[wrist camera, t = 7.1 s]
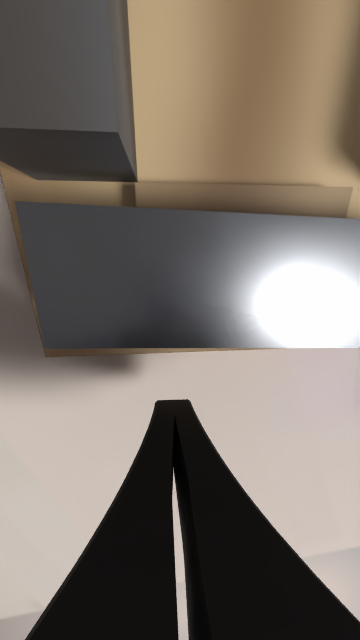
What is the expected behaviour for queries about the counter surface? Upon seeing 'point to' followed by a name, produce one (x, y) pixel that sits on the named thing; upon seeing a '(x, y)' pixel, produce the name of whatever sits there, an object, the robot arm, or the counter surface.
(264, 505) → the counter surface
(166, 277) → the hinged leg
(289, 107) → the wooden board with bars
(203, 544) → the robot arm
